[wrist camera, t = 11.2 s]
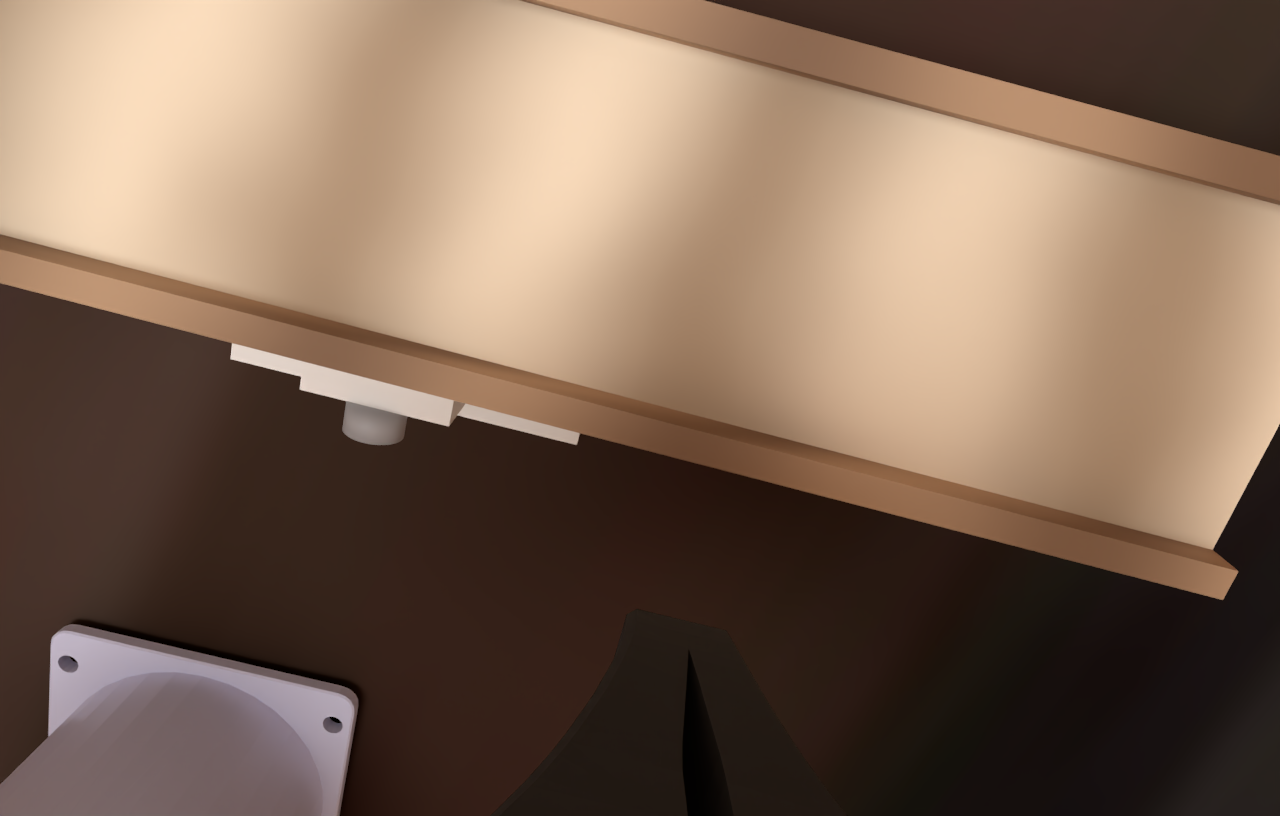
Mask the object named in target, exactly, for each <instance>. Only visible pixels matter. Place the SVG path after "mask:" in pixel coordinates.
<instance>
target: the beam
mask: <svg viewBox="0 0 1280 816" xmlns="http://www.w3.org/2000/svg"><path fill="white" fill-rule="evenodd" d="M0 283H2V284H6V285H10V286H14V287H18V288H22V289H25V290H29V291H33V292H37V293H41V294H45V295H49V296H52V297H56V298H60V299H64V300H68V301H72V302H76V303H79V304H83V305H87V306H91V307H95V308H99V309H103V310H106V311H110V312H114V313H118V314H122V315H126V316H130V317H133V318H137V319H141V320H145V321H149V322H153V323H157V324H160V325H164V326H168V327H172V328H176V329H180V330H184V331H187V332H191V333H195V334H199V335H203V336H207V337H211V338H214V339H218V340H222V341H226V342H230V343H234V344H238V345H241V346H245V347H249V348H253V349H257V350H261V351H265V352H268V353H272V354H276V355H280V356H284V357H288V358H292V359H295V360H299V361H303V362H307V363H311V364H315V365H319V366H322V367H326V368H330V369H334V370H338V371H342V372H346V373H349V374H353V375H357V376H361V377H365V378H369V379H373V380H376V381H380V382H384V383H388V384H392V385H396V386H400V387H403V388H407V389H411V390H415V391H419V392H423V393H427V394H430V395H434V396H438V397H442V398H446V399H450V400H454V401H457V402H461V403H465V404H469V405H473V406H477V407H481V408H484V409H488V410H492V411H496V412H500V413H504V414H508V415H511V416H515V417H519V418H523V419H527V420H531V421H535V422H538V423H542V424H546V425H550V426H554V427H558V428H562V429H565V430H569V431H573V432H577V433H581V434H585V435H589V436H592V437H596V438H600V439H604V440H608V441H612V442H616V443H619V444H623V445H627V446H631V447H635V448H639V449H643V450H646V451H650V452H654V453H658V454H662V455H666V456H670V457H673V458H677V459H681V460H685V461H689V462H693V463H697V464H700V465H704V466H708V467H712V468H716V469H720V470H724V471H727V472H731V473H735V474H739V475H743V476H747V477H751V478H754V479H758V480H762V481H766V482H770V483H774V484H778V485H781V486H785V487H789V488H793V489H797V490H801V491H805V492H808V493H812V494H816V495H820V496H824V497H828V498H832V499H835V500H839V501H843V502H847V503H851V504H855V505H859V506H862V507H866V508H870V509H874V510H878V511H882V512H886V513H889V514H893V515H897V516H901V517H905V518H909V519H913V520H916V521H920V522H924V523H928V524H932V525H936V526H940V527H943V528H947V529H951V530H955V531H959V532H963V533H967V534H970V535H974V536H978V537H982V538H986V539H990V540H994V541H997V542H1001V543H1005V544H1009V545H1013V546H1017V547H1021V548H1024V549H1028V550H1032V551H1036V552H1040V553H1044V554H1048V555H1051V556H1055V557H1059V558H1063V559H1067V560H1071V561H1075V562H1078V563H1082V564H1086V565H1090V566H1094V567H1098V568H1102V569H1105V570H1109V571H1113V572H1117V573H1121V574H1125V575H1129V576H1132V577H1136V578H1140V579H1144V580H1148V581H1152V582H1156V583H1159V584H1163V585H1167V586H1171V587H1175V588H1179V589H1183V590H1186V591H1190V592H1194V593H1198V594H1202V595H1206V596H1210V597H1213V598H1217V599H1221V600H1223V599H1224V597H1225V595H1226V593H1227V591H1228V590H1229V588H1230V586H1231V584H1232V582H1233V580H1234V579H1235V577H1236V575H1237V573H1238V570H1236V569H1235V568H1234V567H1233V566H1232V565H1230V564H1229V563H1228V562H1227V561H1225V560H1224V559H1223V558H1222V557H1221V556H1219V555H1218V554H1217V553H1216V552H1214V551H1213V548H1214V546H1215V544H1216V542H1217V541H1218V539H1219V537H1220V535H1221V533H1222V531H1223V529H1224V527H1225V526H1226V524H1227V522H1228V520H1229V518H1230V516H1231V514H1232V512H1233V511H1234V509H1235V507H1236V505H1237V503H1238V501H1239V499H1240V497H1241V496H1242V494H1243V492H1244V490H1245V488H1246V486H1247V484H1248V482H1249V481H1250V479H1251V477H1252V475H1253V473H1254V471H1255V469H1256V467H1257V466H1258V464H1259V462H1260V460H1261V458H1262V456H1263V454H1264V452H1265V451H1266V449H1267V447H1268V445H1269V443H1270V441H1271V439H1272V437H1273V436H1274V434H1275V432H1276V430H1277V428H1278V426H1279V424H1280V156H1277V155H1274V154H1270V153H1266V152H1263V151H1259V150H1255V149H1252V148H1248V147H1244V146H1240V145H1237V144H1233V143H1229V142H1226V141H1222V140H1218V139H1215V138H1211V137H1207V136H1204V135H1200V134H1196V133H1192V132H1189V131H1185V130H1181V129H1178V128H1174V127H1170V126H1167V125H1163V124H1159V123H1155V122H1152V121H1148V120H1144V119H1141V118H1137V117H1133V116H1130V115H1126V114H1122V113H1119V112H1115V111H1111V110H1107V109H1104V108H1100V107H1096V106H1093V105H1089V104H1085V103H1082V102H1078V101H1074V100H1071V99H1067V98H1063V97H1059V96H1056V95H1052V94H1048V93H1045V92H1041V91H1037V90H1034V89H1030V88H1026V87H1022V86H1019V85H1015V84H1011V83H1008V82H1004V81H1000V80H997V79H993V78H989V77H986V76H982V75H978V74H974V73H971V72H967V71H963V70H960V69H956V68H952V67H949V66H945V65H941V64H938V63H934V62H930V61H926V60H923V59H919V58H915V57H912V56H908V55H904V54H901V53H897V52H893V51H889V50H886V49H882V48H878V47H875V46H871V45H867V44H864V43H860V42H856V41H853V40H849V39H845V38H841V37H838V36H834V35H830V34H827V33H823V32H819V31H816V30H812V29H808V28H805V27H801V26H797V25H793V24H790V23H786V22H782V21H779V20H775V19H771V18H768V17H764V16H760V15H757V14H753V13H749V12H745V11H742V10H738V9H734V8H731V7H727V6H723V5H720V4H716V3H712V2H708V1H705V0H0Z"/></svg>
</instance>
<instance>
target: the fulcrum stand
mask: <svg viewBox="0 0 1280 816" xmlns="http://www.w3.org/2000/svg"><path fill="white" fill-rule="evenodd" d="M231 359H232V360H237V361H241V362H245V363H249V364H253V365H257V366H261V367H265V368H269V369H273V370H277V371H281V372H285V373H289V374H293V375H297V376H301V383H300V390H303V391H308V392H312V393H316V394H320V395H324V396H328V397H332V398H336V399H340V400H344V401H346V407H345V414H344V421H343V428H342V430H343V432H344V434H345V435H347V436H348V437H349V438H351V439H353V440H356V441H359V442H362V443H366V444H373V445H390V444H395V443H398V442H400V441H401V440H403V438H404V434H405V428H406V422H407V416H408V417H412V418H416V419H420V420H425V421H429V422H433V423H437V424H441V425H445V426H450V424H451V423H452V422H453V420H454V419H455V418H456V416H457V415H458V416H462V417H466V418H470V419H474V420H478V421H482V422H486V423H490V424H494V425H498V426H502V427H506V428H510V429H514V430H518V431H522V432H526V433H530V434H534V435H538V436H542V437H546V438H550V439H554V440H558V441H562V442H566V443H570V444H575V445H577V442H578V439H579V436H580V433H577V432H573V431H569V430H565V429H562V428H558V427H554V426H550V425H546V424H542V423H538V422H535V421H531V420H527V419H523V418H519V417H515V416H511V415H508V414H504V413H500V412H496V411H492V410H488V409H484V408H481V407H477V406H473V405H469V404H465V403H461V402H457V401H454V400H450V399H446V398H442V397H438V396H434V395H430V394H427V393H423V392H419V391H415V390H411V389H407V388H403V387H400V386H396V385H392V384H388V383H384V382H380V381H376V380H373V379H369V378H365V377H361V376H357V375H353V374H349V373H346V372H342V371H338V370H334V369H330V368H326V367H322V366H319V365H315V364H311V363H307V362H303V361H299V360H295V359H292V358H288V357H284V356H280V355H276V354H272V353H268V352H265V351H261V350H257V349H253V348H249V347H245V346H241V345H238V344H234V343H232V349H231Z"/></svg>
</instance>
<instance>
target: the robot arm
mask: <svg viewBox="0 0 1280 816" xmlns="http://www.w3.org/2000/svg"><path fill="white" fill-rule="evenodd" d="M69 656H70V657H73V658H74V659H75V660H76V661H77V663H76V662H74V661H72V659H71V658H70V657H69ZM358 706H359V705H358V698H357V696H356V695H355V693H354V692H353V691H351V690H350V689H349V688H346V687H344V686H340V685H336V684H332V683H327V682H323V681H319V680H314V679H310V678H306V677H302V676H297V675H293V674H289V673H284V672H280V671H276V670H271V669H267V668H263V667H259V666H254V665H250V664H246V663H241V662H237V661H233V660H228V659H224V658H220V657H216V656H211V655H207V654H203V653H198V652H194V651H190V650H185V649H181V648H177V647H173V646H168V645H164V644H160V643H155V642H151V641H147V640H142V639H138V638H134V637H130V636H125V635H121V634H117V633H112V632H108V631H104V630H99V629H95V628H91V627H87V626H82V625H77V624H70V625H67V626H64V627H63V628H62V629H61V630H59V631H58V632H57V633H56V634H55V635H54V636H53V637H52V640H51V654H50V689H49V724H48V738H47V739H46V740H45V741H44V742H43V743H42V744H41V745H40V746H39V747H38V748H37V749H36V750H35V751H34V752H33V753H32V754H31V755H30V756H29V757H28V758H27V759H26V760H25V761H23V762H22V763H21V764H20V765H19V766H18V767H17V768H16V769H15V770H14V771H13V772H12V773H11V774H10V775H9V776H8V777H7V778H6V779H5V780H4V781H3V782H2V783H1V784H0V816H339V815H340V809H341V804H342V798H343V792H344V786H345V781H346V775H347V769H348V763H349V758H350V752H351V746H352V740H353V734H354V729H355V723H356V717H357V711H358ZM329 717H335V718H337V719H339V720H340V721H341V722H342V723H336V722H334V721H332V720H331V719H330V718H329ZM491 816H847V815H846V814H845V812H844V811H843V810H842V809H841V807H840V806H839V805H838V804H837V802H836V801H835V800H834V798H833V797H832V796H831V794H830V793H829V792H828V790H827V789H826V787H825V786H824V785H823V783H822V782H821V781H820V779H819V778H818V776H817V775H816V774H815V772H814V771H813V770H812V768H811V767H810V765H809V764H808V763H807V761H806V760H805V758H804V757H803V756H802V754H801V753H800V751H799V750H798V748H797V747H796V745H795V744H794V742H793V741H792V739H791V738H790V736H789V735H788V733H787V732H786V730H785V729H784V727H783V725H782V724H781V722H780V721H779V719H778V717H777V716H776V714H775V713H774V711H773V710H772V708H771V706H770V705H769V703H768V701H767V700H766V698H765V696H764V695H763V693H762V691H761V689H760V688H759V686H758V684H757V683H756V681H755V679H754V678H753V676H752V674H751V672H750V671H749V669H748V667H747V665H746V664H745V662H744V660H743V658H742V657H741V655H740V653H739V651H738V650H737V648H736V646H735V645H734V643H733V641H732V639H731V638H730V636H729V634H728V633H727V631H726V630H722V629H718V628H714V627H710V626H705V625H701V624H697V623H693V622H689V621H685V620H680V619H676V618H672V617H668V616H664V615H660V614H656V613H651V612H647V611H643V610H639V609H636V610H634V611H633V612H631V613H629V614H627V615H626V619H625V622H624V626H623V629H622V633H621V636H620V640H619V643H618V647H617V650H616V654H615V657H614V659H613V661H612V663H611V665H610V667H609V669H608V670H607V672H606V674H605V676H604V677H603V679H602V681H601V682H600V684H599V686H598V688H597V689H596V691H595V693H594V694H593V696H592V697H591V699H590V701H589V702H588V703H587V705H586V706H585V708H584V709H583V710H582V712H581V713H580V715H579V716H578V717H577V719H576V720H575V722H574V723H573V724H572V726H571V727H570V729H569V730H568V731H567V733H566V734H565V735H564V737H563V738H562V739H561V740H560V742H559V743H558V744H557V745H556V747H555V748H554V749H553V750H552V752H551V753H550V754H549V755H548V756H547V757H546V759H545V760H544V761H543V762H542V763H541V764H540V765H539V767H538V768H537V769H536V770H535V771H534V772H533V773H532V774H531V775H530V777H529V778H528V779H527V780H526V781H525V782H524V783H523V784H522V785H521V786H520V787H519V788H518V789H517V790H516V791H515V792H514V793H513V794H512V795H511V796H510V797H509V798H508V799H507V800H506V801H505V802H504V803H503V804H502V805H501V806H500V807H499V808H498V809H497V810H496V811H495V812H494V813H493V814H492V815H491Z"/></svg>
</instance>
